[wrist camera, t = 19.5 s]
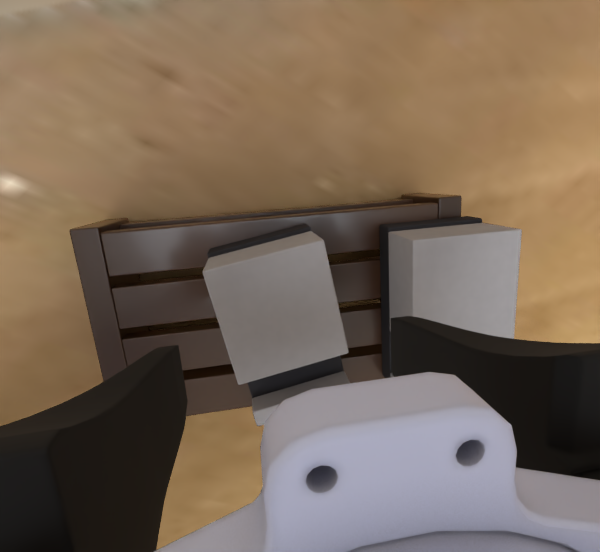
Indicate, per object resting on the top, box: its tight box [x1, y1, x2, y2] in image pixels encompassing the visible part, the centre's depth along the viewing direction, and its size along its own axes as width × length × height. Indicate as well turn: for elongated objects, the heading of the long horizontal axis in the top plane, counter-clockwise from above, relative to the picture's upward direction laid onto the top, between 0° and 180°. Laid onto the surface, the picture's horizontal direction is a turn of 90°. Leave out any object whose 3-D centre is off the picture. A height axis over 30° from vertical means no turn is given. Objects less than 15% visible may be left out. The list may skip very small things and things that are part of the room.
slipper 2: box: [379, 216, 522, 378], centre depth 18 cm, size 8×5×4 cm, turn 4°
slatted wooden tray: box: [70, 193, 461, 416], centre depth 21 cm, size 18×10×4 cm, turn 94°
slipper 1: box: [203, 224, 350, 426], centre depth 17 cm, size 8×5×4 cm, turn 14°
